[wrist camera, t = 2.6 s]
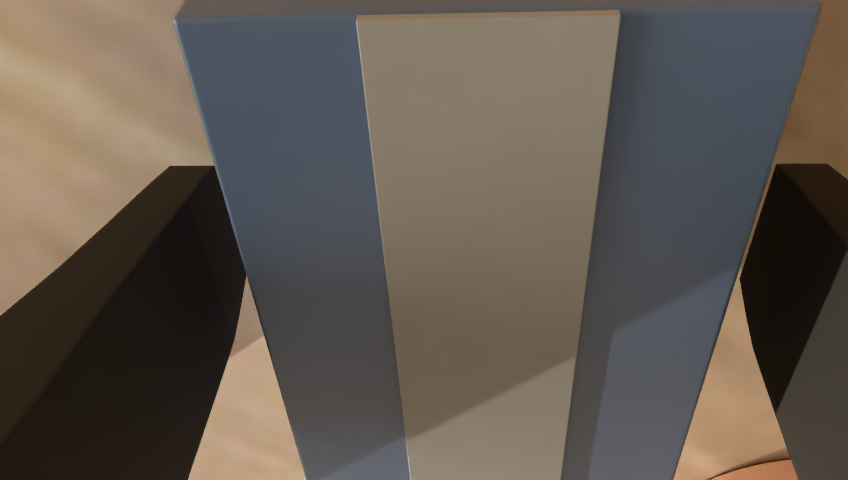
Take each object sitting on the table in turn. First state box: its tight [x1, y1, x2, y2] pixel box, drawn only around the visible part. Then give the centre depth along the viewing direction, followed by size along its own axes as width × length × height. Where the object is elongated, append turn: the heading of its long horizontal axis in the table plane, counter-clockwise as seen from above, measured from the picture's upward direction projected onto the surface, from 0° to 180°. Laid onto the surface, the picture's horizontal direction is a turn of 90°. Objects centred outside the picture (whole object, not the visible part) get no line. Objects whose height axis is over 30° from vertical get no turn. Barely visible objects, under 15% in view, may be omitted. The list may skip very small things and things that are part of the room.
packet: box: [173, 0, 821, 480], centre depth 10 cm, size 8×5×4 cm, turn 3°
